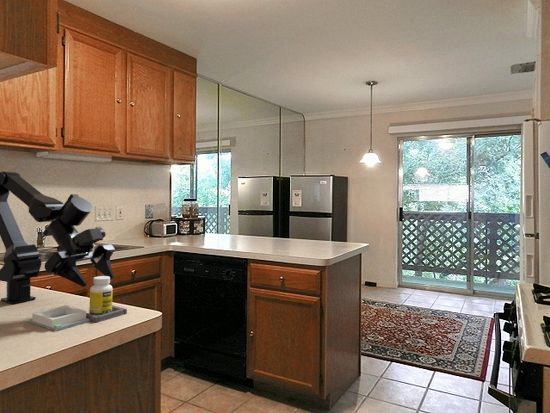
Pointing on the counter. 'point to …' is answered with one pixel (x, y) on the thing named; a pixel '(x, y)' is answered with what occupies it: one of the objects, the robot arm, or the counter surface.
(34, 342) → the counter surface
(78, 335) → the counter surface
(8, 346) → the counter surface
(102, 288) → the supplement bottle
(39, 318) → the panel
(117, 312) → the holster cradle
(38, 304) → the counter surface
